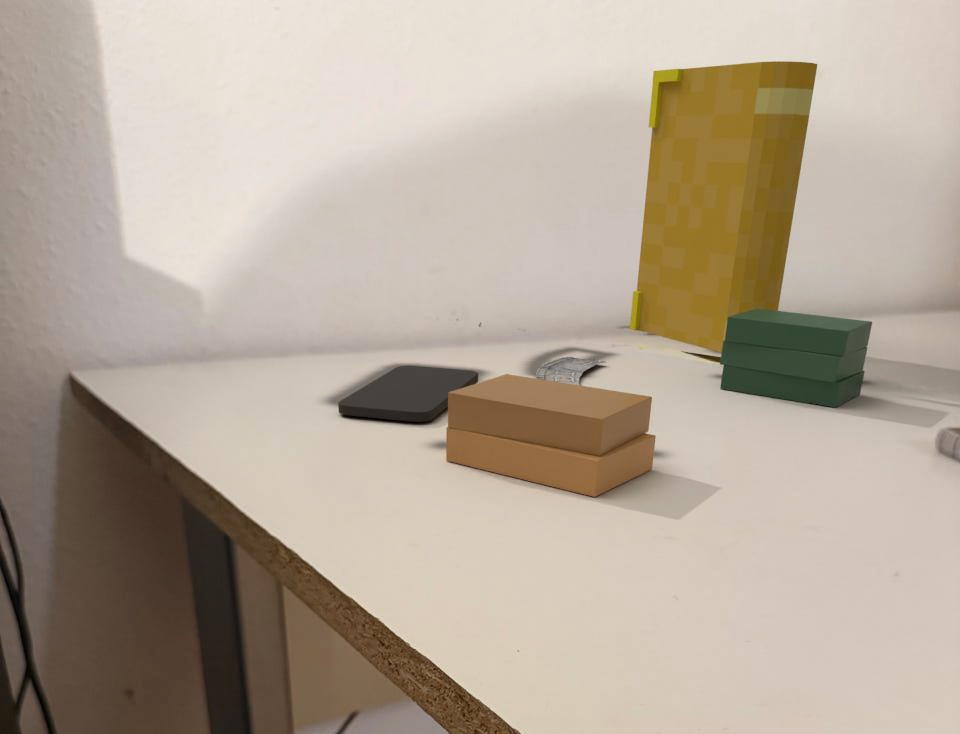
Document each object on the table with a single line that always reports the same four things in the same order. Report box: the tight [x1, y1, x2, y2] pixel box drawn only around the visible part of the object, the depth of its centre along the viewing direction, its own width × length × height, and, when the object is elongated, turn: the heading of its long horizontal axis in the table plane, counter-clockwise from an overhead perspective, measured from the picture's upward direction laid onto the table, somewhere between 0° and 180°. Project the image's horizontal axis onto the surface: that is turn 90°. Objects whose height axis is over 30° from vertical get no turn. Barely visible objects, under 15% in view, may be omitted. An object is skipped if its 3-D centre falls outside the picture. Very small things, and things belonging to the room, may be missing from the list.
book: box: [629, 60, 818, 363], centre depth 92 cm, size 17×7×25 cm, turn 27°
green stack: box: [719, 340, 868, 408], centre depth 81 cm, size 10×7×4 cm
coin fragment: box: [535, 356, 607, 385], centre depth 86 cm, size 13×5×1 cm, turn 160°
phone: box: [337, 365, 479, 423], centre depth 75 cm, size 7×1×15 cm
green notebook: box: [725, 309, 873, 357], centre depth 79 cm, size 10×6×2 cm, turn 54°
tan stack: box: [445, 373, 657, 498], centre depth 60 cm, size 11×8×4 cm
